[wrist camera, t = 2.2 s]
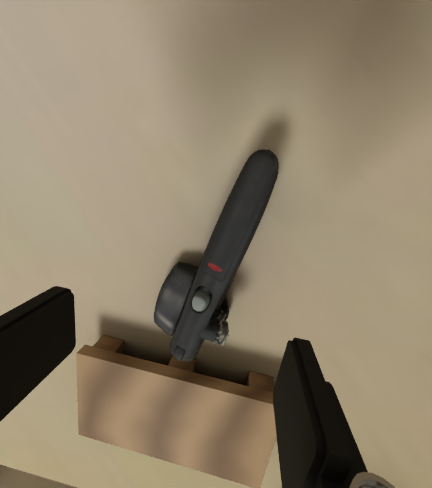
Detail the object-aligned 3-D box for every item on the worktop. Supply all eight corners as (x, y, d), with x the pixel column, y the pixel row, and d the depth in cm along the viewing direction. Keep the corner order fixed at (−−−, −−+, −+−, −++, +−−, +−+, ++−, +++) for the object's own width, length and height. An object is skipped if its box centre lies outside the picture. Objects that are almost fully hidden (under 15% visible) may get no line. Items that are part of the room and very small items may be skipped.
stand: (281, 379, 23) (285, 407, 20) (258, 455, 26) (259, 489, 23) (96, 333, 25) (76, 353, 22) (96, 408, 28) (78, 434, 25)
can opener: (214, 341, 23) (203, 390, 18) (154, 310, 23) (124, 348, 18) (311, 177, 18) (337, 174, 12) (231, 137, 18) (223, 118, 12)
